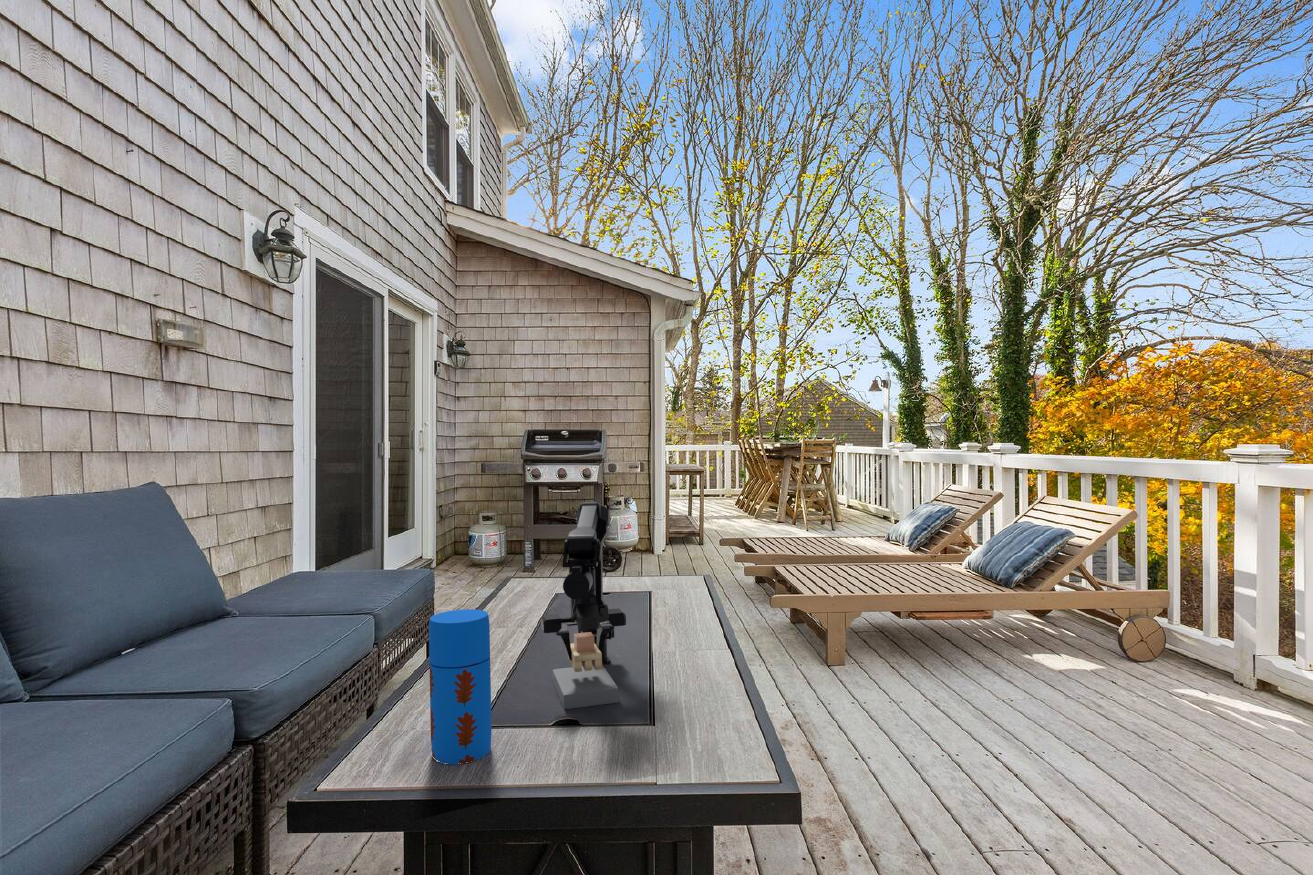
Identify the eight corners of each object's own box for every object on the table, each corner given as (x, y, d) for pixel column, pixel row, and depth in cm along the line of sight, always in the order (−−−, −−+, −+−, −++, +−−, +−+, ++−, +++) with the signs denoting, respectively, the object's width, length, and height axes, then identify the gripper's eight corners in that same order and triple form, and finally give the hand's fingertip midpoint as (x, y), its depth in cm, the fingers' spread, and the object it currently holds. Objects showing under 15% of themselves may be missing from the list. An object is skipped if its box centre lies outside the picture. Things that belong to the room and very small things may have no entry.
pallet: (568, 658, 158) (567, 643, 158) (593, 655, 160) (593, 640, 160) (575, 672, 149) (574, 656, 149) (602, 668, 150) (601, 653, 150)
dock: (552, 682, 162) (552, 669, 162) (602, 676, 165) (601, 663, 165) (563, 709, 145) (563, 695, 145) (618, 702, 148) (618, 688, 148)
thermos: (436, 770, 118) (433, 626, 118) (426, 747, 128) (424, 613, 128) (498, 756, 123) (495, 618, 123) (484, 734, 133) (482, 606, 133)
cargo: (574, 646, 156) (573, 633, 156) (591, 644, 157) (590, 631, 157) (576, 651, 152) (576, 638, 152) (594, 649, 153) (594, 636, 153)
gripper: (546, 600, 144) (547, 674, 144) (631, 593, 149) (632, 664, 149) (540, 590, 155) (541, 658, 155) (619, 583, 160) (621, 650, 160)
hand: (584, 658), depth 154 cm, fingers closed on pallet, 6 cm apart
